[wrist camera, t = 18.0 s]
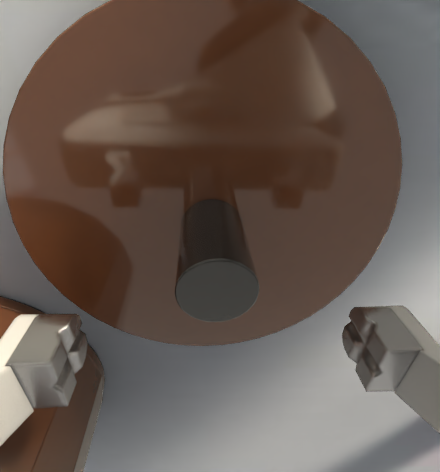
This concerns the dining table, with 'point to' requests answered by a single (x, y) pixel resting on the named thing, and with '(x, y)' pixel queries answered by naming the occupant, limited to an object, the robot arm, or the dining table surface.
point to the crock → (54, 417)
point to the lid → (202, 166)
